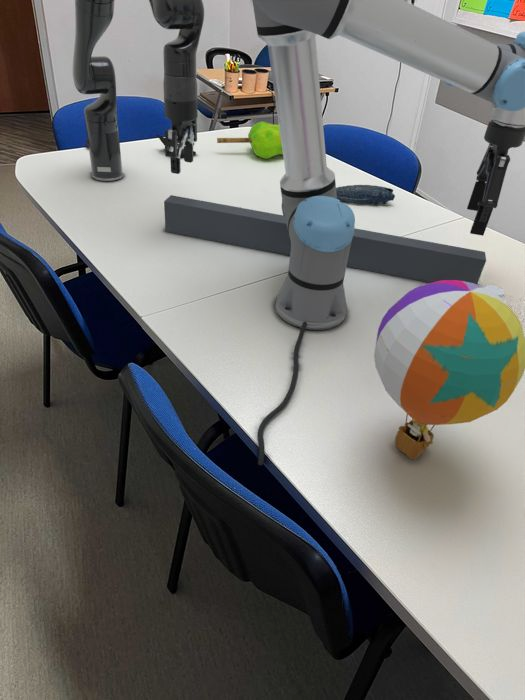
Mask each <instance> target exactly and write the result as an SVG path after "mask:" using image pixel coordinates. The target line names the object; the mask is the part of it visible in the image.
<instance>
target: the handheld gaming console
mask: <svg viewBox="0 0 525 700" xmlns="http://www.w3.org/2000/svg"><path fill="white" fill-rule="evenodd" d="M156 136H157V138H158V139H159V141H160V142H161V143H162V144H163V146H165V136H162V135H160V134H158V133H157V134H156ZM169 149H170V146H169ZM177 150H178V148H177ZM196 154H197V152H196V151H194V150H193V156H196ZM180 158H183V159H184V149H182V150H181V155H180Z"/></svg>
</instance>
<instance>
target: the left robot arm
mask: <svg viewBox="0 0 525 700" xmlns="http://www.w3.org/2000/svg"><path fill="white" fill-rule="evenodd" d="M148 2H149V6H150V7H151V12H152V16H153V18H154V20H155V21H156V23H157V24H158V25H159V26H160V27H162V28H163V29H165V30H171V31H172V30H173V31H174V30H179V31H178V34H177V37H176V38H175V39H173V40H171V41H168V42H166V43H165V44H164V46H163V52H162V53H163V104H164V105H163V106H164V118H166V120H169V121H170V122H171V125H170V129H169V128H165V130H164V138H165V145H164V149H165V150H164V153H165V157H166V158H167V157H168V158H169V159H170V172H171V173H172V174H176V175H179V174H180V173H181V169H182V168H181V157H180V155H181V150H182V149H184V157H183V161H184V162H186V163H190V164H191V163H193V162H194V155H193V151H194V147H195V143H197V142H198V122H197V121H198V114H199V112H198V107H199V106H198V104H199V103H198V96H199V95H198V79H197V52H198V48H199V45H200V39H201V35H202V31H203V26H204V20H205V6H204V2H203V0H148ZM114 11H115V0H74V12H75V13H74V14H75V16H74V17H75V18H74V19H75V26H74V27H75V30H74V31H75V34H74V45H73V46H74V47H73V56H72V79H73V83H74V87H75V89H76V90H77V91H78V93H80V94H82V95H98V94H99V96H98V98H97V99H96V100H94V101H93V102H91V103H89V104H87V105H86V106H85V107H84V109H83V115H84V123H85V129H86V130H85V131H86V137H87V138H86V141H85V143H84V145H85V147H86V148H87V149H88V153H89V154H88V155H89V161H90V168H91V177H92V178H93V179H94V180H96V181H101V182H114V181H118V180H120V179H122V178H123V177H124V172H123V165H122V164H123V163H122V152H121V142H120V132H119V131H120V130H119V122H118V121H119V120H118V101H117V81H116V80H117V78H116V70H115V67H114V64H113V62H112V60H111V59H110V58H109V57H108V56H104V55H103V56H102V55H98V56H97V55H95V56H92V55H93V51H94V49H95V47H96V45H97V43H98V42H99V40H100V39H101V38H102V36H103V35H104V34H105V33H106V31H107V29H108V28H109V26H110V25H111V23H112V21H113V18H114ZM169 146H170V149H169ZM177 148H178V150H177Z"/></svg>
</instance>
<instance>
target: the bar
mask: <svg viewBox="0 0 525 700" xmlns="http://www.w3.org/2000/svg"><path fill="white" fill-rule="evenodd" d="M163 204H164V205H163V208H164V209H163V210H164V230H165V232H166V233H171V234H176V235H182V236H186V237H191V238H197V239H202V240H207V241H213V242H216V243H223V244H226V245H227V244H229V245H232V246H238V247H243V248H247V249H253V250H258V251H263V252H269V253H273V254H274V253H275V254H280V255H284V256H290V253H291V240H290V236H289V232H288V228H287V224H286V221H285V218H284V216H283V214H277V213H273V212H266V211H261V210H257V209H249V208H245V207H239V206H233V205H228V204H222V203H216V202H212V201H206V200H202V199H201V200H200V199H195V198H189V197H183V196H179V195H178V196H177V195H172V194H170V195H169V196H168V197H167V198H166V199H165V200H163ZM486 262H487V256H486V252H485V251H482V250H477V249H471V248H466V247H460V246H455V245H449V244H444V243H438V242H434V241H433V242H432V241H427V240H423V239H416V238H410V237H405V236H400V235H394V234H389V233H383V232H377V231H372V230H366V229H361V228H356V227H355V230H354V236H353V238H352V242H351V247H350V252H349V257H348V261H347V266H346V268H347V267H348V268H351V269H352V268H353V269H357V270H362V271H369V272H372V273H379V274H383V275H389V276H393V277H399V278H404V279H410V280H414V281H420V282H425V283H432V282H436V281H441V280H459V281H465V282H470V283H474V284H477V285H478V283H479V281H480V279H481V276H482V273H483V271H484V268H485V265H486Z"/></svg>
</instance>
